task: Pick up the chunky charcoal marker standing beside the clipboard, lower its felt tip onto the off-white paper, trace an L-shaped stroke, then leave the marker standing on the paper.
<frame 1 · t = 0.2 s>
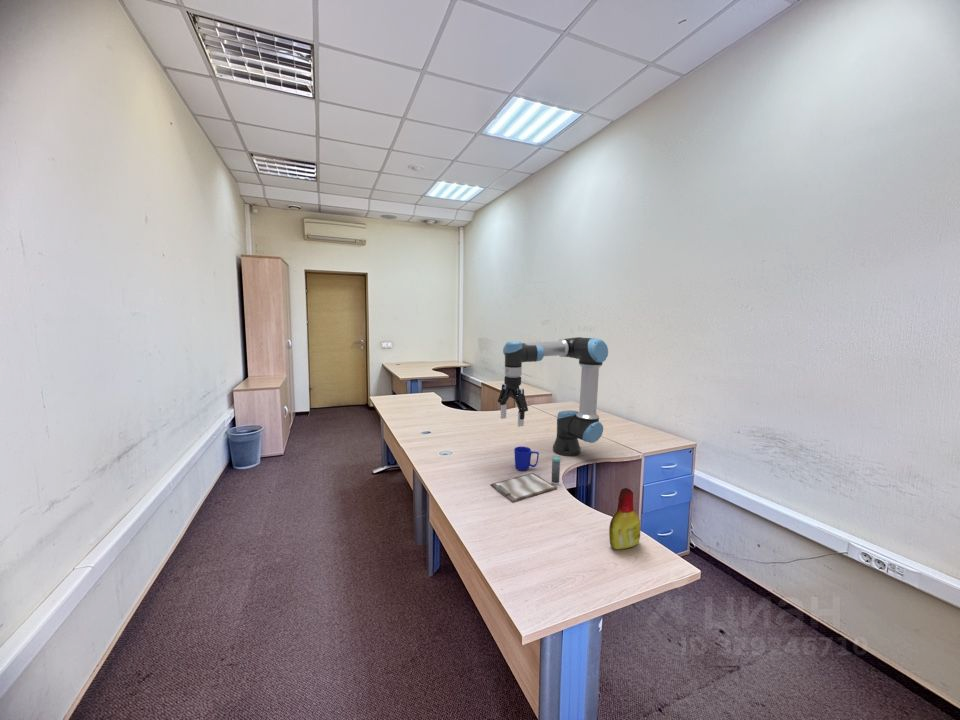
hand: (511, 422, 164), 27 cm above the table, fingers open, 13 cm apart
bottle: (623, 546, 120), on the table
marker: (555, 483, 164), on the table
clipboard: (523, 487, 160), on the table
mug: (525, 469, 180), on the table
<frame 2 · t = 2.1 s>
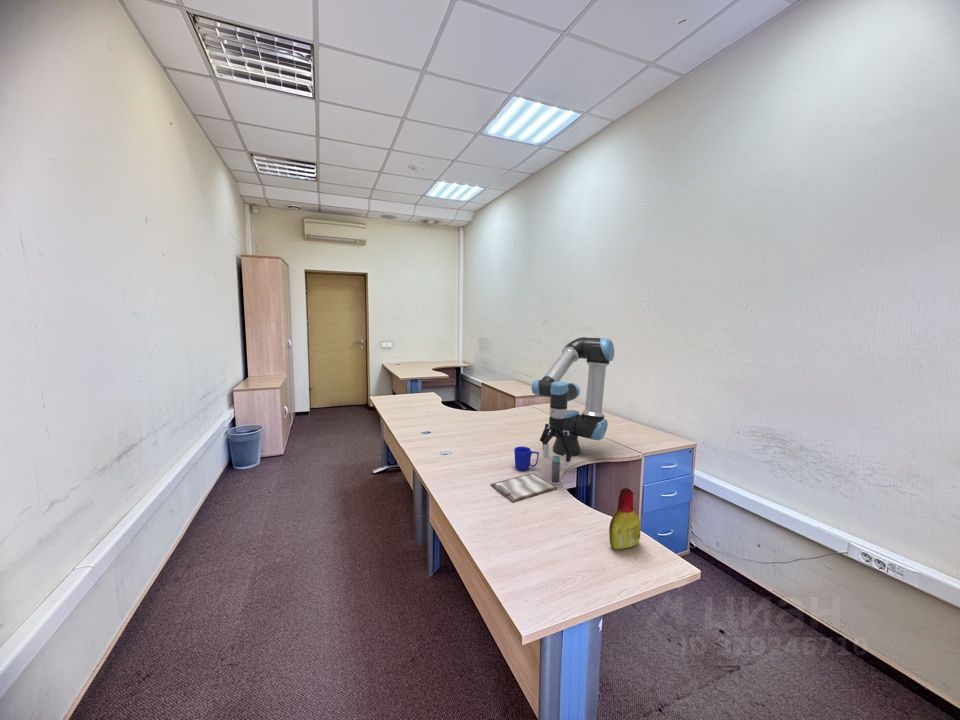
hand: (555, 462, 163), 10 cm above the table, fingers open, 13 cm apart
nothing on the table moved.
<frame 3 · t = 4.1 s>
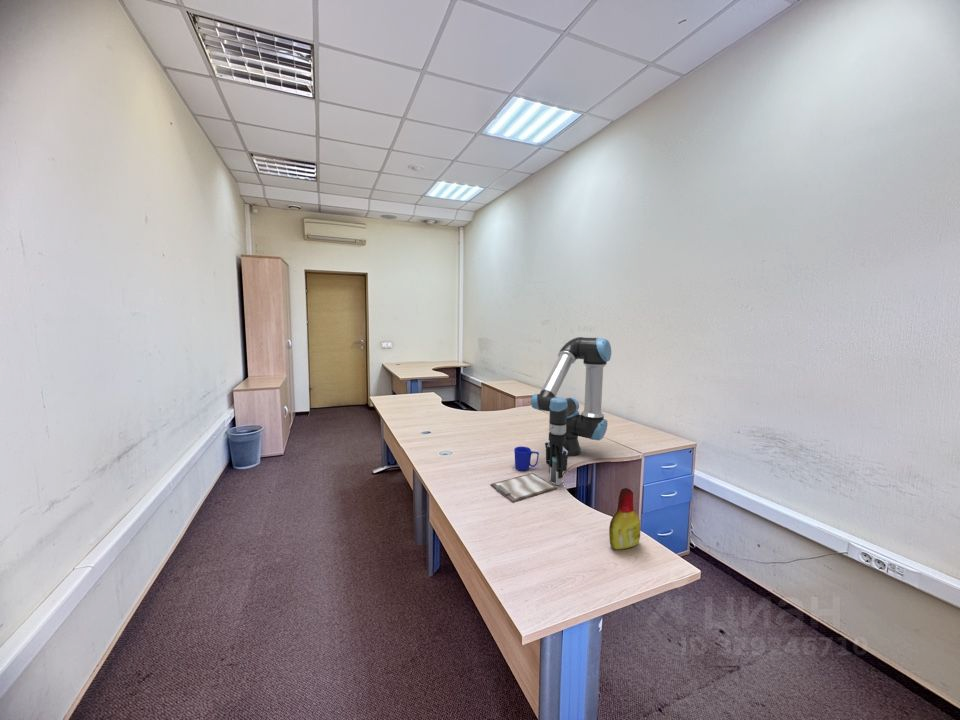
hand: (555, 482, 164), 1 cm above the table, fingers closed on marker, 3 cm apart
marker: (555, 483, 164), on the table, touching gripper
everything else where it was.
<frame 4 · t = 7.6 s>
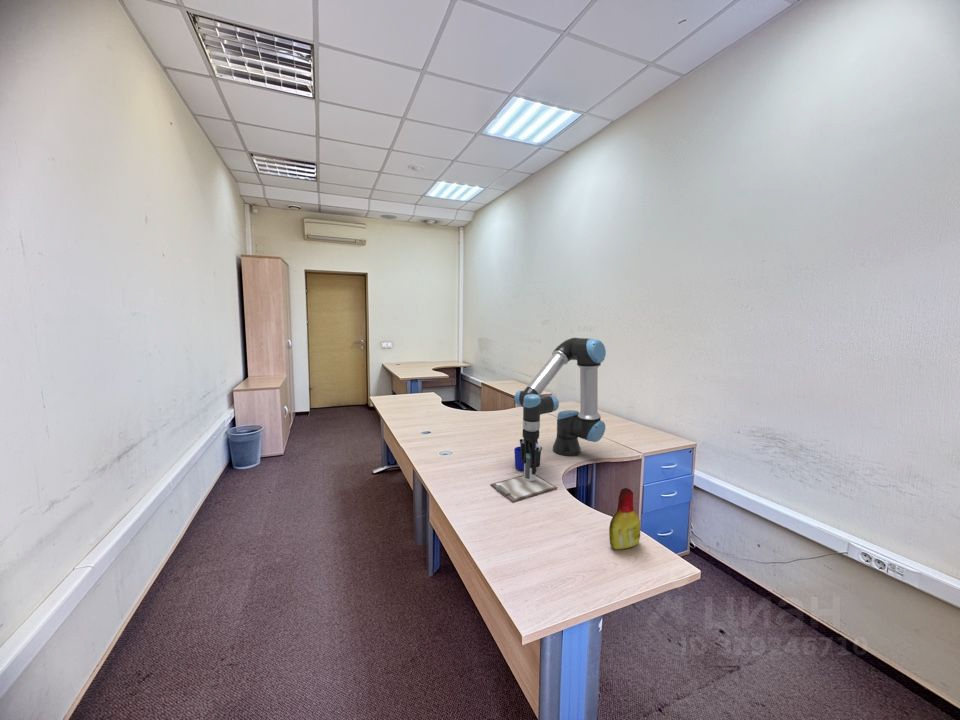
hand: (529, 478, 165), 2 cm above the table, fingers closed on marker, 3 cm apart
marker: (529, 479, 165), point 1 cm above the table, touching gripper
everything else where it was.
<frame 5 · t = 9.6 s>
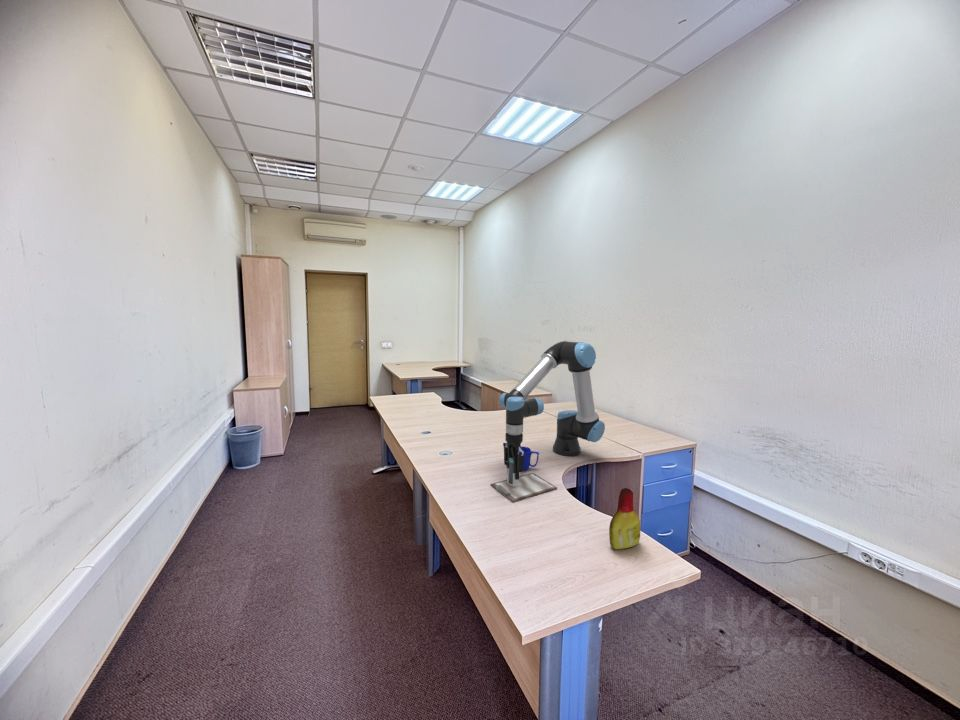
hand: (512, 483, 160), 2 cm above the table, fingers closed on marker, 3 cm apart
marker: (512, 485, 160), point 1 cm above the table, touching gripper
everything else where it was.
when the fingers open (2 cm above the table, at t = 11.2 s): marker stays where it is, resting on clipboard.
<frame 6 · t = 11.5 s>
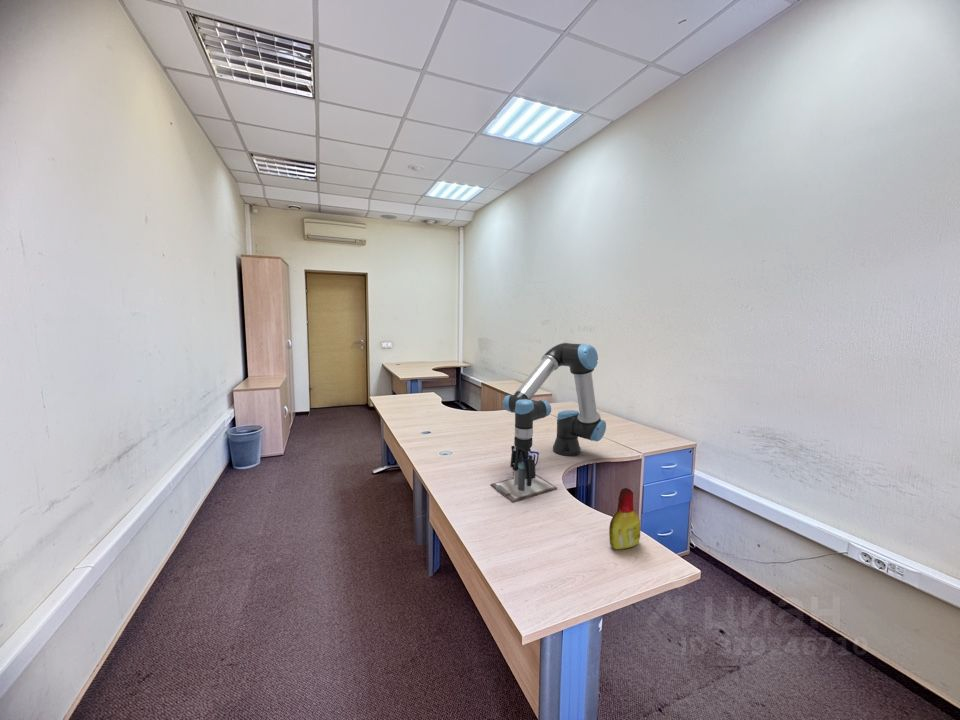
hand: (521, 488, 154), 2 cm above the table, fingers open, 7 cm apart
marker: (521, 491, 155), point 1 cm above the table, touching clipboard
everything else where it was.
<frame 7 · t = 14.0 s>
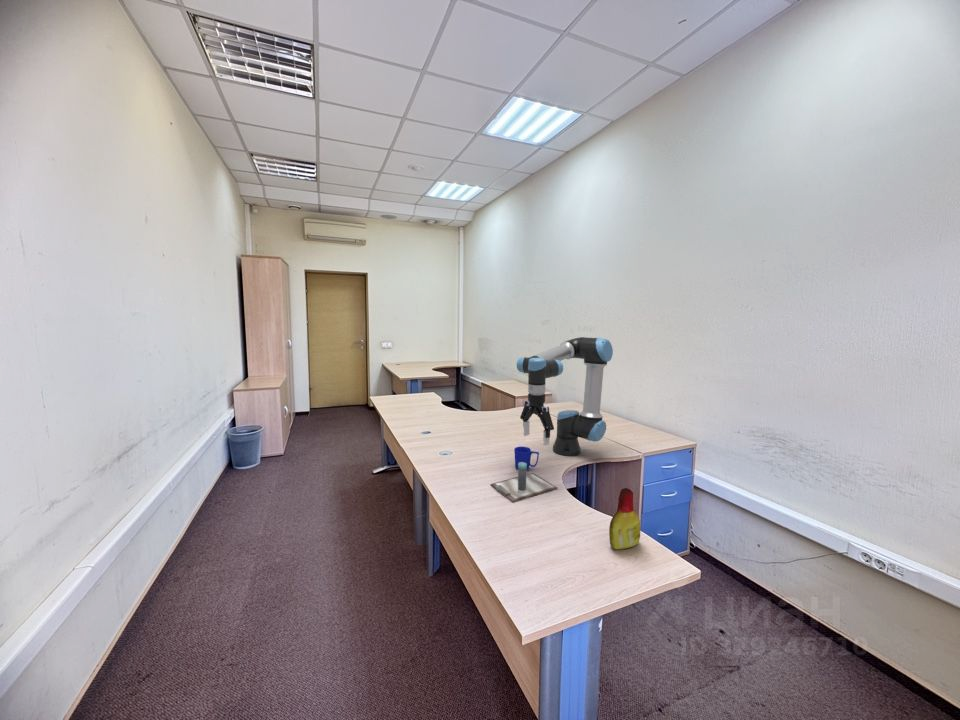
hand: (536, 439, 161), 21 cm above the table, fingers open, 13 cm apart
nothing on the table moved.
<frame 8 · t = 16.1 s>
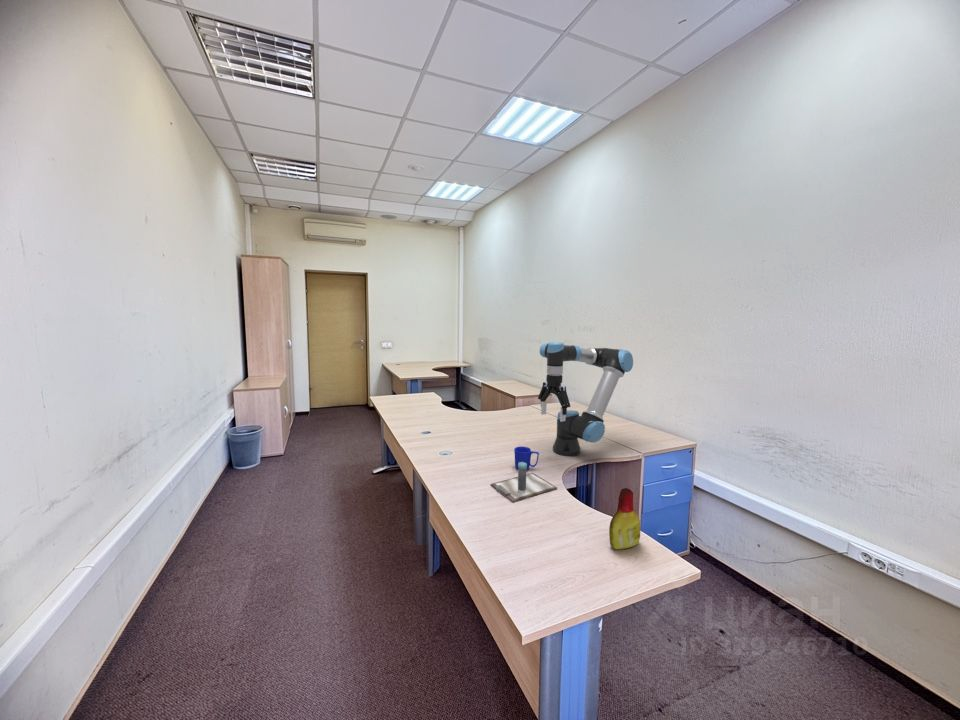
hand: (552, 417, 175), 27 cm above the table, fingers open, 13 cm apart
nothing on the table moved.
at the end: marker inside the target area on the clipboard (5.7 cm from its centre), point 0.9 cm above the clipboard's base; marker tilted 0°; the gripper is holding nothing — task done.
